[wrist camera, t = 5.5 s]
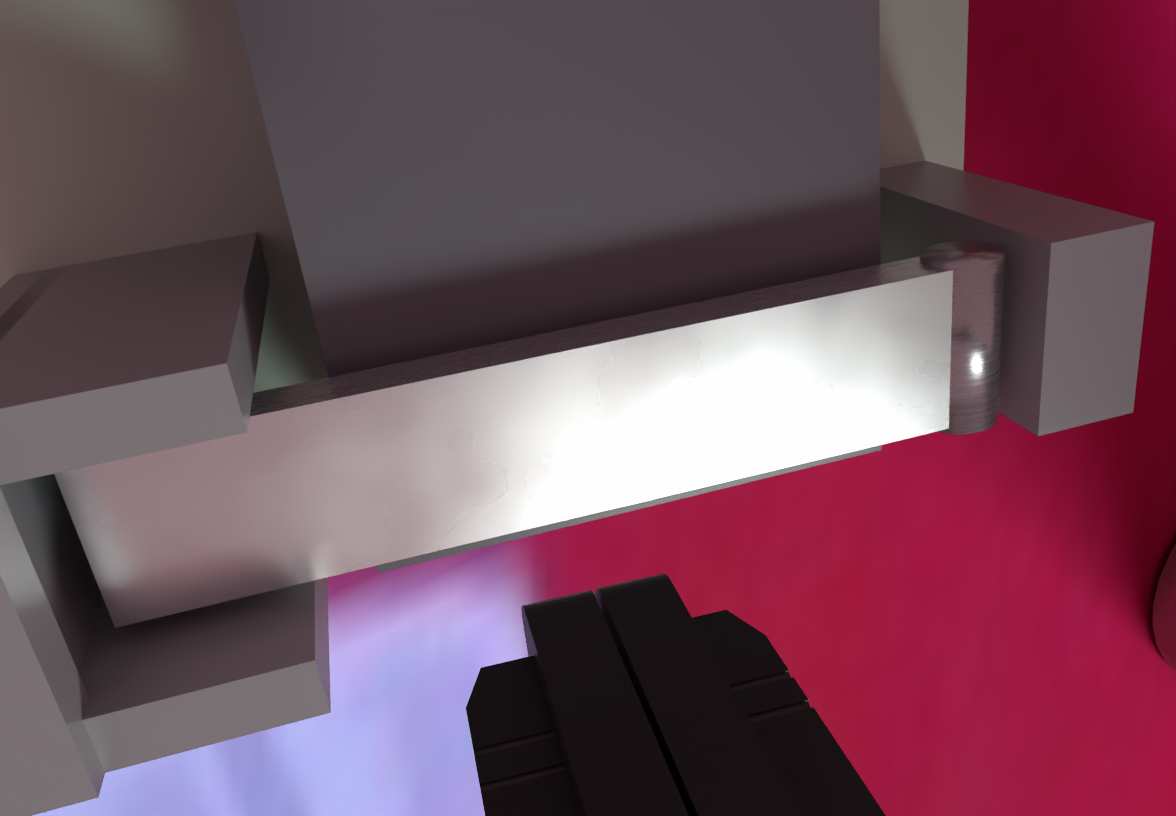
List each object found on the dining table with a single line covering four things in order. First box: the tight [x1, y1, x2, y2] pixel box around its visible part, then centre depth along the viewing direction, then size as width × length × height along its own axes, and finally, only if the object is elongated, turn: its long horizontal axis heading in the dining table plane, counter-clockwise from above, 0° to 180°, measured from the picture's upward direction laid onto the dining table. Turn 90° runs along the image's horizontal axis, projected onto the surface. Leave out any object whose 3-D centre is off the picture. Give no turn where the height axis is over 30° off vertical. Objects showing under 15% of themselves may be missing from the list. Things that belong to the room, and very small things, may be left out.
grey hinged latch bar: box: [54, 241, 1005, 628], centre depth 17 cm, size 16×3×2 cm, turn 97°
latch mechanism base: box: [0, 0, 1154, 816], centre depth 16 cm, size 23×20×10 cm
